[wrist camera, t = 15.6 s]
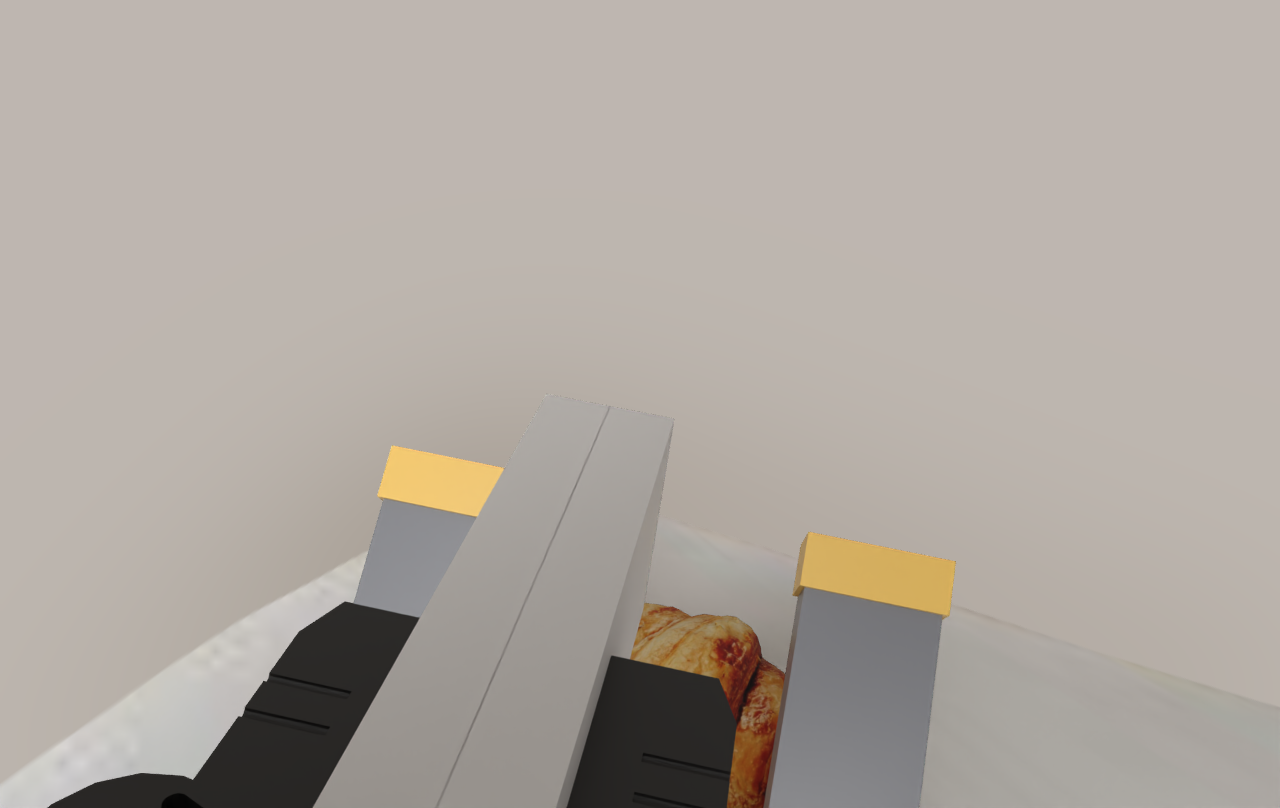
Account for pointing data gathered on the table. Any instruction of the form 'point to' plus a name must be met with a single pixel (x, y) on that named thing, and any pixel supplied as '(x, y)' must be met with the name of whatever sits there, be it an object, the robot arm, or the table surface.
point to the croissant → (742, 674)
